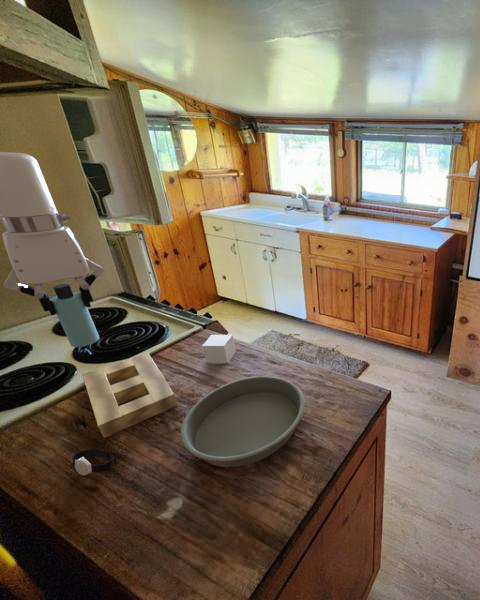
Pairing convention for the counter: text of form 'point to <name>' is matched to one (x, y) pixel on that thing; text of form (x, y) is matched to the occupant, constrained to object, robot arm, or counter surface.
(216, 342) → the white cube
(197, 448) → the cake pan
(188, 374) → the counter surface
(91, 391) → the hole block
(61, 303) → the bottle
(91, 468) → the watch
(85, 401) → the counter surface
